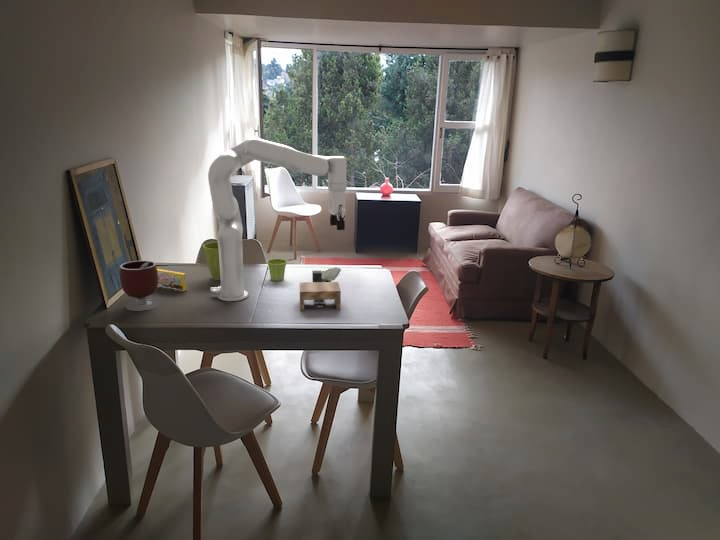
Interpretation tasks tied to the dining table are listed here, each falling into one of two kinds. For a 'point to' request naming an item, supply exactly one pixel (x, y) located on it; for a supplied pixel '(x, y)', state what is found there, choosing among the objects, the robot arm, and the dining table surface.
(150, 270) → the mate gourd
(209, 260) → the flower pot
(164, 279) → the candy box
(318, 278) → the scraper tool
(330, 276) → the stone slab
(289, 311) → the dining table surface
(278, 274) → the plant pot
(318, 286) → the walnut shelf
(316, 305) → the steel disc
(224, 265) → the robot arm
